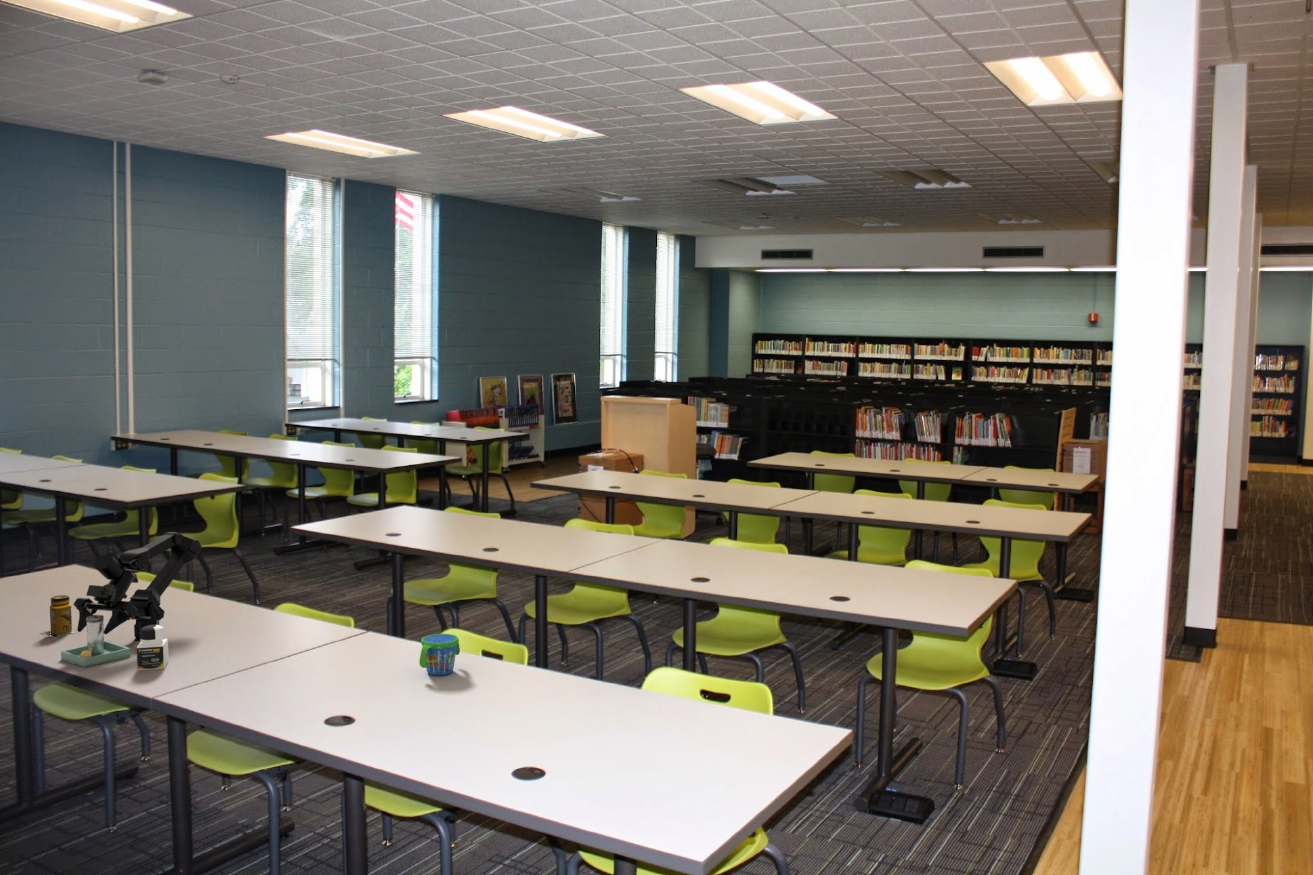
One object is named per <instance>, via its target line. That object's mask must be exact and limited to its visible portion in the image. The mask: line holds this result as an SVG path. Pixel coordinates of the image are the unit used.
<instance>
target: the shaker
mask: <svg viewBox="0 0 1313 875" xmlns="http://www.w3.org/2000/svg"><path fill="white" fill-rule="evenodd" d="M86 621H87V625H86V639H87V640H86V642H87V646H88V651H90V652H91V654H92V656H91V657H93V656H98V655H102V654H105V653H104V641H105V634H104V633H103V632H104V630H105V626H104V615H103V614H93V615H92V616H88V617H86Z"/></svg>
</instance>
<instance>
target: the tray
mask: <svg viewBox="0 0 1313 875" xmlns="http://www.w3.org/2000/svg"><path fill="white" fill-rule="evenodd" d="M85 650H88V646H87V645H82V646H77V647H74V648H69V649H65V650H61V651H60V658H61V659H63V660H62V661H64V660H66V661H65V662H67V661H69V662H68V663H70V662H72V663H74V664H73V665H75V664H77V665H76V666H78V665H79V667H81V666H82V667H81V668H83V667H84V669H85V668H89V666H90V667H94V666H97V665H102V664H105V663H110V662H114V661H118V660H122V659H125V658H131V656H132V654H131V648H130V647H128V646H124V645H121V644H118V643H115V642H112V641H109V640H104V653H105V654H102V655H98V656H93V657H89V658H83V657H80V654H81V653H82V652H83V651H85ZM61 659H60V660H61ZM72 663H71V664H72Z"/></svg>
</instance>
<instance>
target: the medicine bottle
mask: <svg viewBox="0 0 1313 875" xmlns="http://www.w3.org/2000/svg"><path fill="white" fill-rule="evenodd" d="M140 634H141V640H140V642H139V644H138V645H137V647H136V664H137V667H136V669H137V671H149V670H150V671H151V670H164V668H166V667H167V664H168V662H169V640H168V638H164V627H163V626H162V625H160V624H159V625H148V626H145V627H143V628H141V630H140Z"/></svg>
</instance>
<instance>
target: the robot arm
mask: <svg viewBox="0 0 1313 875" xmlns="http://www.w3.org/2000/svg"><path fill="white" fill-rule="evenodd" d="M168 550H170V557H169V558H168V560H167V561H166V562H165V564H164V566H163V567H162V568H161V569H160V571H159V572H158V573H157V574H156V575H155V577H154V578H153V580H151V582H150V583H149V585H148V586H147V587H146V588H145V589H142V588H137V589H136V590H135V591H134V592H133V594H132V595H131V597H129V600H128V601H126V599H127V598H128V595H127V594H126V593H127V592H128V590H129V588H130V586H131V585H132V583H133V584H138V583H139V579H138V576H137V574H136V573H133V571H134V572H142V571H144V570H145V568H147V567H148V566H150V564H151V561H152V560H153V559H155V558H156V557H159V555H161V554H163V553H164V552H166V551H168ZM201 552H202V544H201V543H200V541H199V540H197V539H193V538H190V537H187V536H185V535H183V534H181V533H179V532H173V531H170V532H169V531H167V532H165V533H164V534H162V536H159V537H157V538H156V539H154V540H152V541H150V542H149V543H148V544H146V545H144V546H142V547H139V548H135V549H129V550H127V551H123V552H122V553H121V554H120V555H119V556H117V554H116V553H115V552H114V551H107V552H106V553H105V554H104V555H102V556H100V557H99V558H97V559H96V560H95V561H94V569H95V570H96V571H98V573H100V574H101V575H102V576H103V577H104V578H105V579H106V580H109V581H108V583H106V584H105V585H104V584H103V585H95V584H94V585H93V584H89V585H88V588H87V591H86V594H85V596H86V597H77V598H76V599H75V601H74V603H73V607H74V608H76V610H77V611H78V616H79V617H78V622H77V629H76V631H77V632H78V633H81V632H83V630H84V629H85V628H87V621H86V617H88V616H92V615H96V613H97V612H98V611H107V612H111V617H110V618H109V620H108V622H107V624H106V625H105V626H104V632H103V633H104V635H108V634H109V633H111V632H112V631H113V630H114V629H116V628H117V627H120V625H122V624H123V623H125V622H127V621H130V620H132V621H133V620H135V624H133V631H134V641H141V634H140V630H141V628H143V627H145V626H148V625H160V620H162V619H164V617H165V610H164V609H163V608H162V607H161V597H162V595H163V594H164V592H166V589H168V587H170V584H171V583H172V582H173V581H174V580H175V578H176V577H177V575H178V574H179V573H180V571H181V570H182V568H183V567H184V566H185V565H187V564H188V563H189V564H190V563H191V562H193V561H194V560H195V559H197V557H198V556H199V555H200V553H201ZM89 597H93V600H94V601H95V602H96V603H95V602H94V601H93V600H92V599H91V598H89ZM123 599H124V600H123Z"/></svg>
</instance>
